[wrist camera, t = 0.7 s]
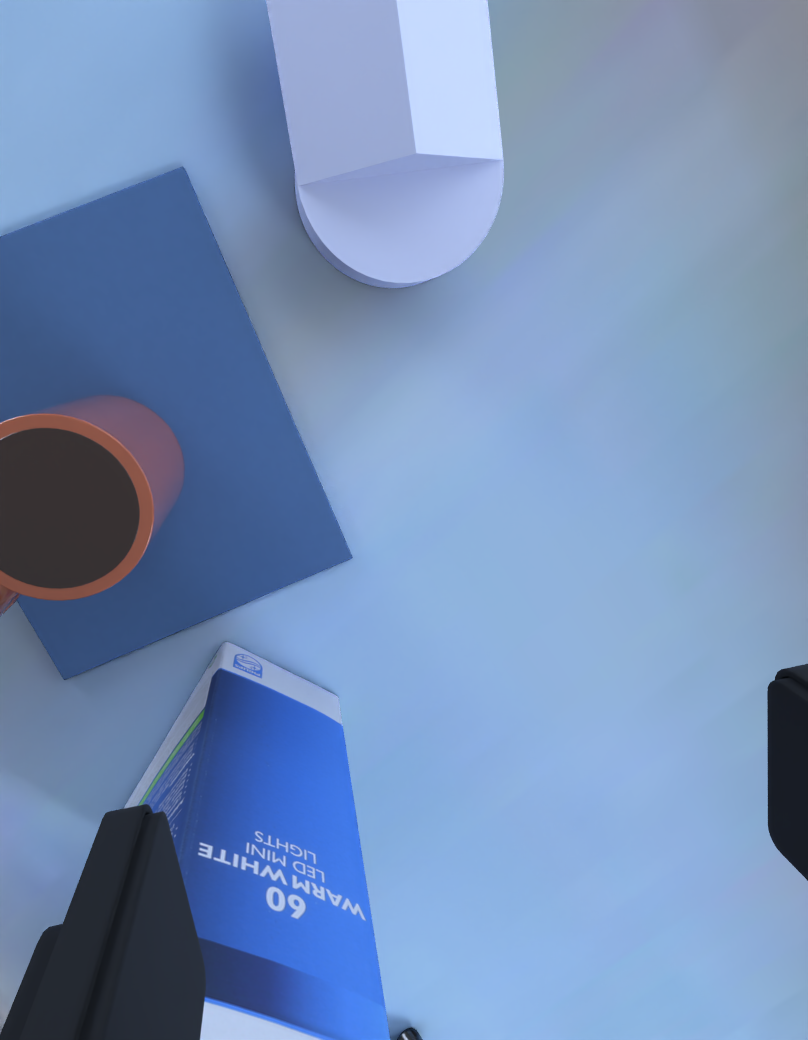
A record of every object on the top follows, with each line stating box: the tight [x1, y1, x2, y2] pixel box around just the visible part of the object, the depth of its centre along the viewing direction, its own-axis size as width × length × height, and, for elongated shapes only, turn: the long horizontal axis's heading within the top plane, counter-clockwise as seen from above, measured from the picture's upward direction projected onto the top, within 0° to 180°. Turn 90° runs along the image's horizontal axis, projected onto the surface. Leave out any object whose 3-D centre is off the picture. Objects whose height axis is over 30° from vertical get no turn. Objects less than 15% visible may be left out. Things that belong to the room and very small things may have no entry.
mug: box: [0, 395, 185, 616], centre depth 31 cm, size 10×7×9 cm
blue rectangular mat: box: [0, 167, 352, 680], centre depth 35 cm, size 20×16×1 cm
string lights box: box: [123, 642, 390, 1040], centre depth 28 cm, size 13×8×26 cm, turn 148°
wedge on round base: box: [266, 0, 504, 288], centre depth 30 cm, size 9×7×13 cm
